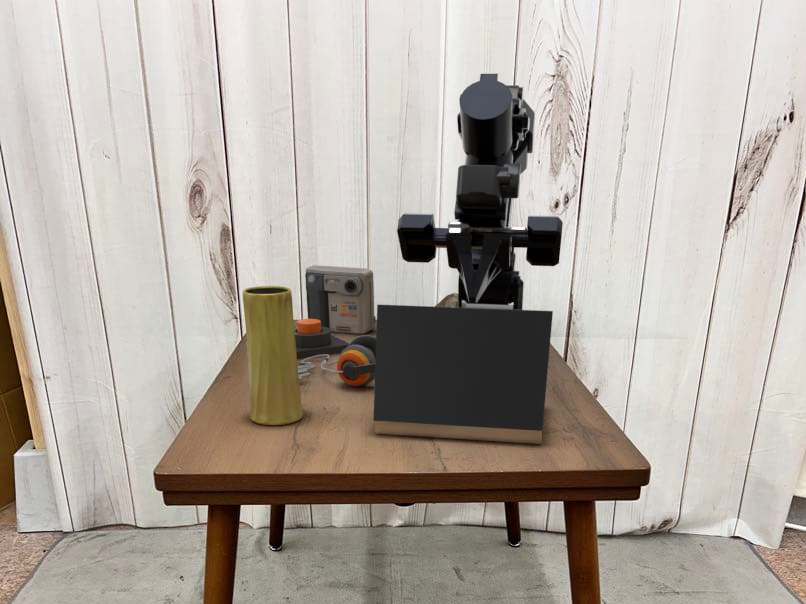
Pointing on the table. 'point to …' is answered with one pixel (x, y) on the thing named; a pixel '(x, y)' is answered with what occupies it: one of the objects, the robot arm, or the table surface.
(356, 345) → the headphones
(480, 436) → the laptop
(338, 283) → the camera
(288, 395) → the vase
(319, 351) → the dock
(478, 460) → the table surface
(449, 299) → the fossilized seashell
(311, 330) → the power button
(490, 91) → the robot arm
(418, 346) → the black flat panel
